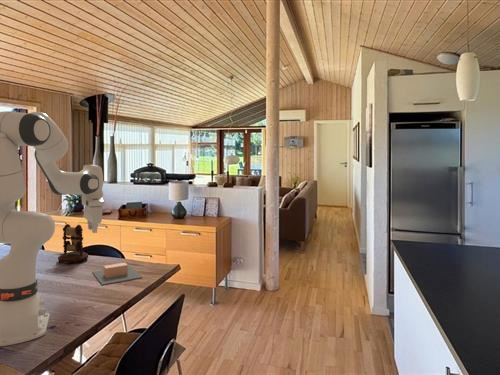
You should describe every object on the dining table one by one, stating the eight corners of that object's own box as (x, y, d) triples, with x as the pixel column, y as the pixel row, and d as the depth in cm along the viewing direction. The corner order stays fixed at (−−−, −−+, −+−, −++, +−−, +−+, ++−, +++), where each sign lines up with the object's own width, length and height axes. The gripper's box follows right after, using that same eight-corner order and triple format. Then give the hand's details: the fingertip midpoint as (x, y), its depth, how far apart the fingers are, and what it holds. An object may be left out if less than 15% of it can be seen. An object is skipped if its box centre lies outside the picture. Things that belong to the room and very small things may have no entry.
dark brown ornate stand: (93, 257, 200) (93, 222, 198) (77, 265, 185) (76, 227, 183) (69, 255, 202) (68, 221, 200) (51, 263, 187) (50, 226, 185)
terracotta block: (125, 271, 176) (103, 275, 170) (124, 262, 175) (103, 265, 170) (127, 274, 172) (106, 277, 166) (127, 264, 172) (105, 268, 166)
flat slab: (142, 278, 168) (142, 277, 168) (101, 285, 158) (101, 284, 158) (129, 266, 185) (129, 265, 185) (92, 272, 174) (92, 271, 174)
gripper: (80, 199, 167) (80, 228, 168) (89, 203, 150) (89, 235, 151) (95, 198, 171) (95, 227, 171) (105, 202, 154) (104, 234, 154)
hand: (92, 231), depth 161 cm, fingers open, 8 cm apart
